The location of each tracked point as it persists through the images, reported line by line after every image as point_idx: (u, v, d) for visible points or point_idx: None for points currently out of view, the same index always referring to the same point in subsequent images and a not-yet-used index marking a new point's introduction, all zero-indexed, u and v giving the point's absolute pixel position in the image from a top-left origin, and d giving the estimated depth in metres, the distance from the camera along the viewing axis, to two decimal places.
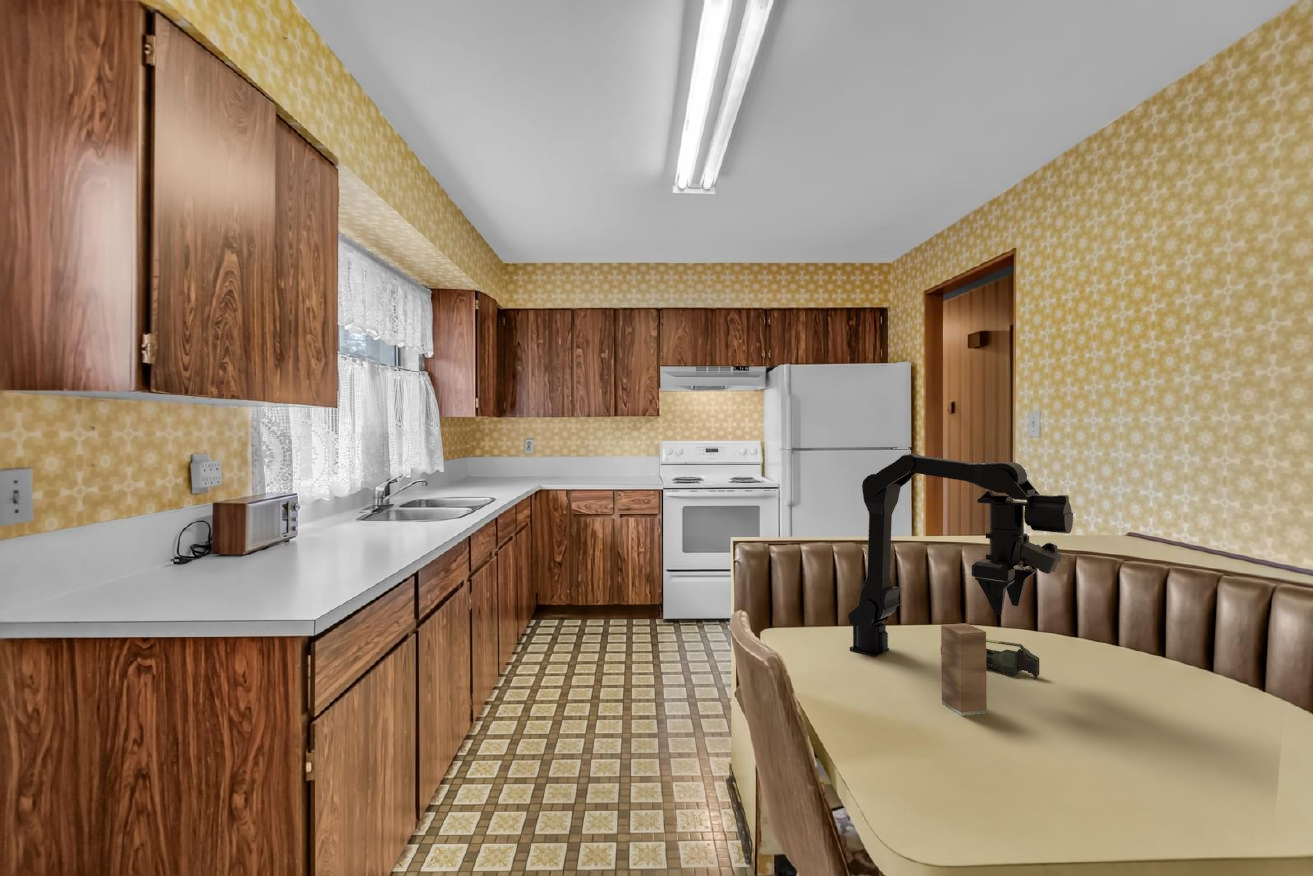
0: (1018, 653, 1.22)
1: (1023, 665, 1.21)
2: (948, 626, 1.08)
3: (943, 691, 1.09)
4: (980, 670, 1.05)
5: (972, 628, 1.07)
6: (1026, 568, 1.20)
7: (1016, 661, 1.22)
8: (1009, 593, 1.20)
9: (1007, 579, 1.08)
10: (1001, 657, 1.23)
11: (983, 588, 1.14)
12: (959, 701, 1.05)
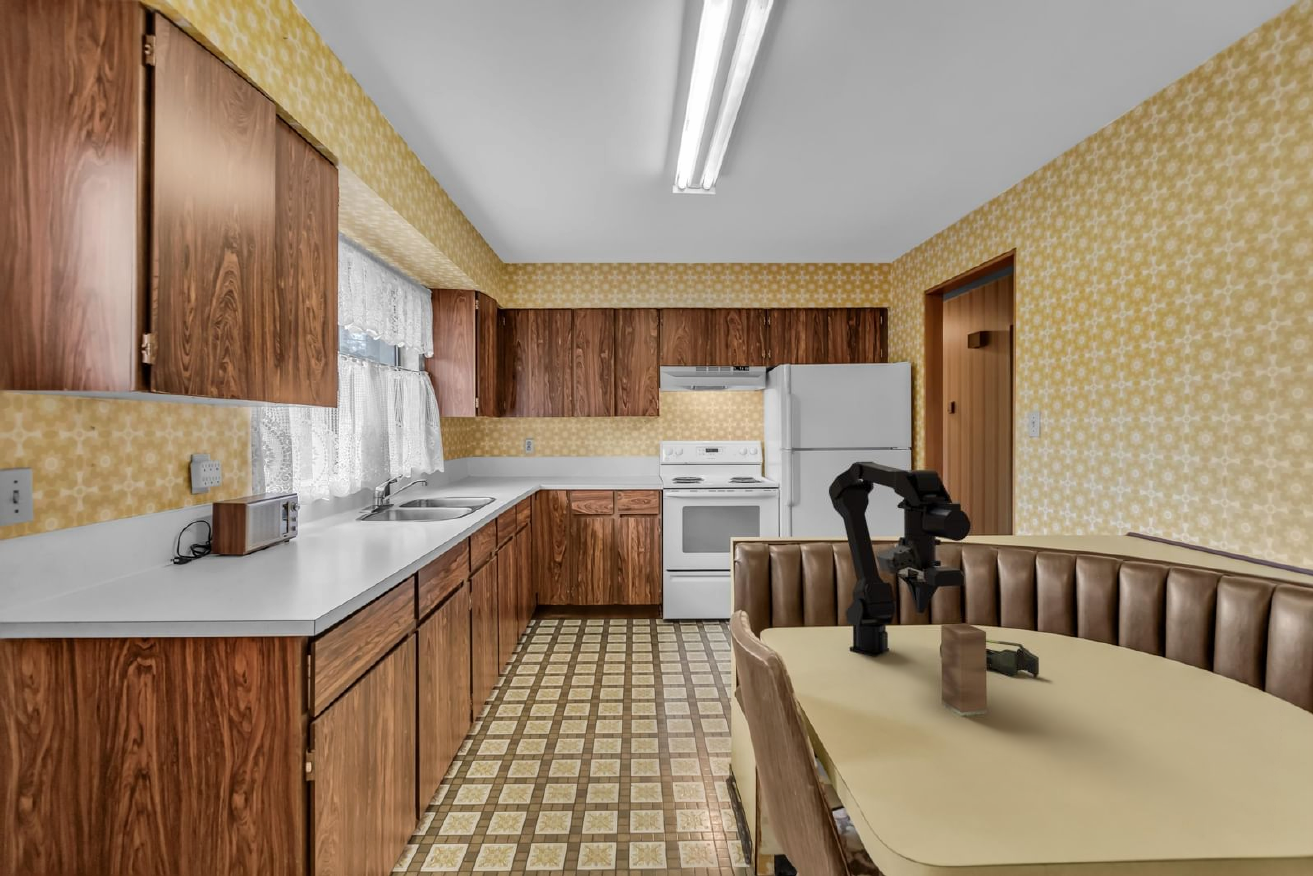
0: (1018, 653, 1.22)
1: (1023, 665, 1.22)
2: (948, 626, 1.08)
3: (943, 691, 1.09)
4: (980, 670, 1.05)
5: (972, 628, 1.07)
6: (919, 578, 1.19)
7: (1016, 661, 1.22)
8: None
9: None
10: (1001, 656, 1.23)
11: None
12: (959, 701, 1.05)
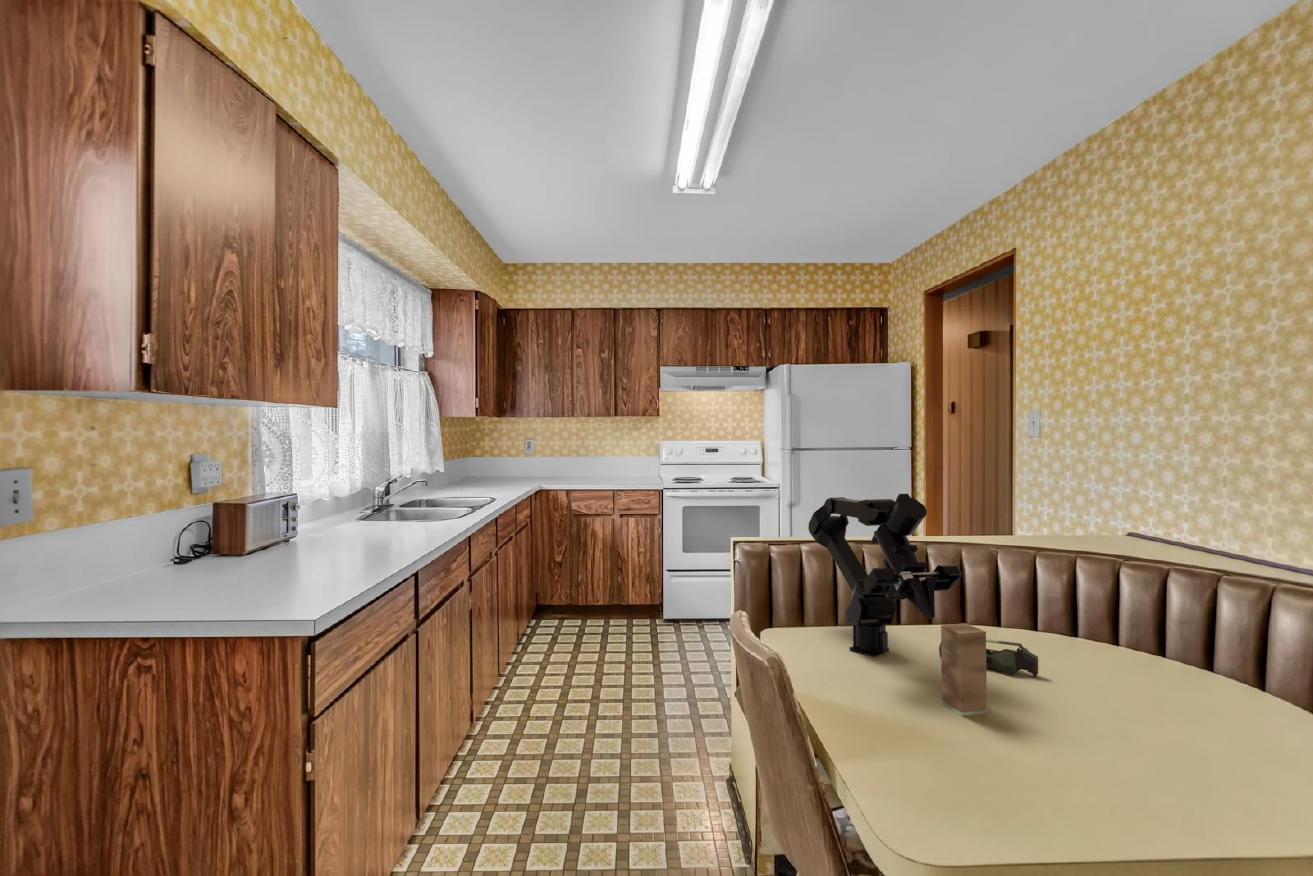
0: (1017, 652, 1.22)
1: (1022, 664, 1.22)
2: (948, 626, 1.08)
3: (943, 691, 1.09)
4: (980, 670, 1.05)
5: (972, 628, 1.07)
6: None
7: (1016, 660, 1.22)
8: None
9: None
10: (1001, 656, 1.23)
11: None
12: (959, 701, 1.05)
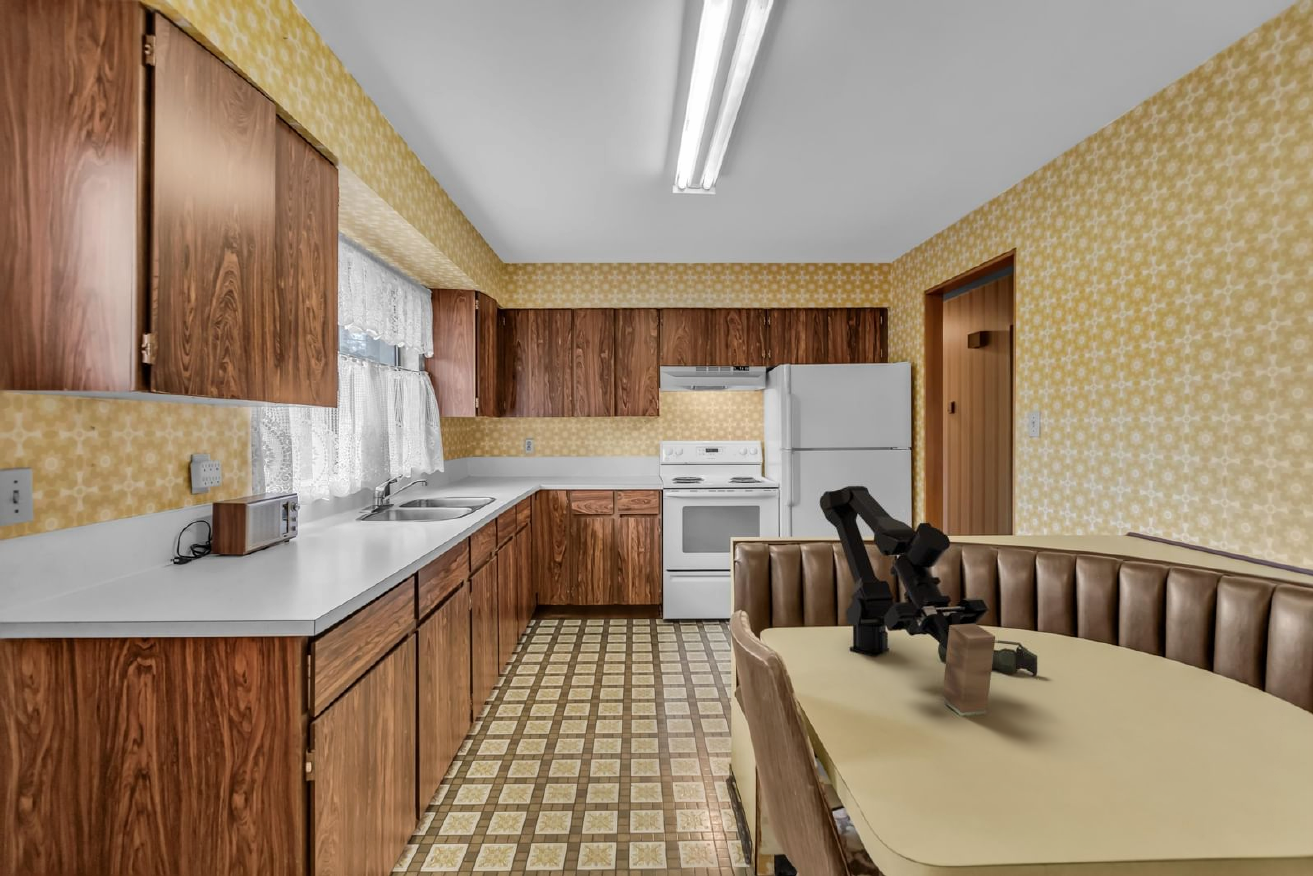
0: (1017, 652, 1.23)
1: (1022, 663, 1.22)
2: (956, 627, 1.06)
3: (945, 688, 1.08)
4: (985, 673, 1.04)
5: (981, 631, 1.05)
6: None
7: (1015, 660, 1.23)
8: None
9: (971, 623, 1.18)
10: (1000, 656, 1.24)
11: None
12: (960, 701, 1.04)
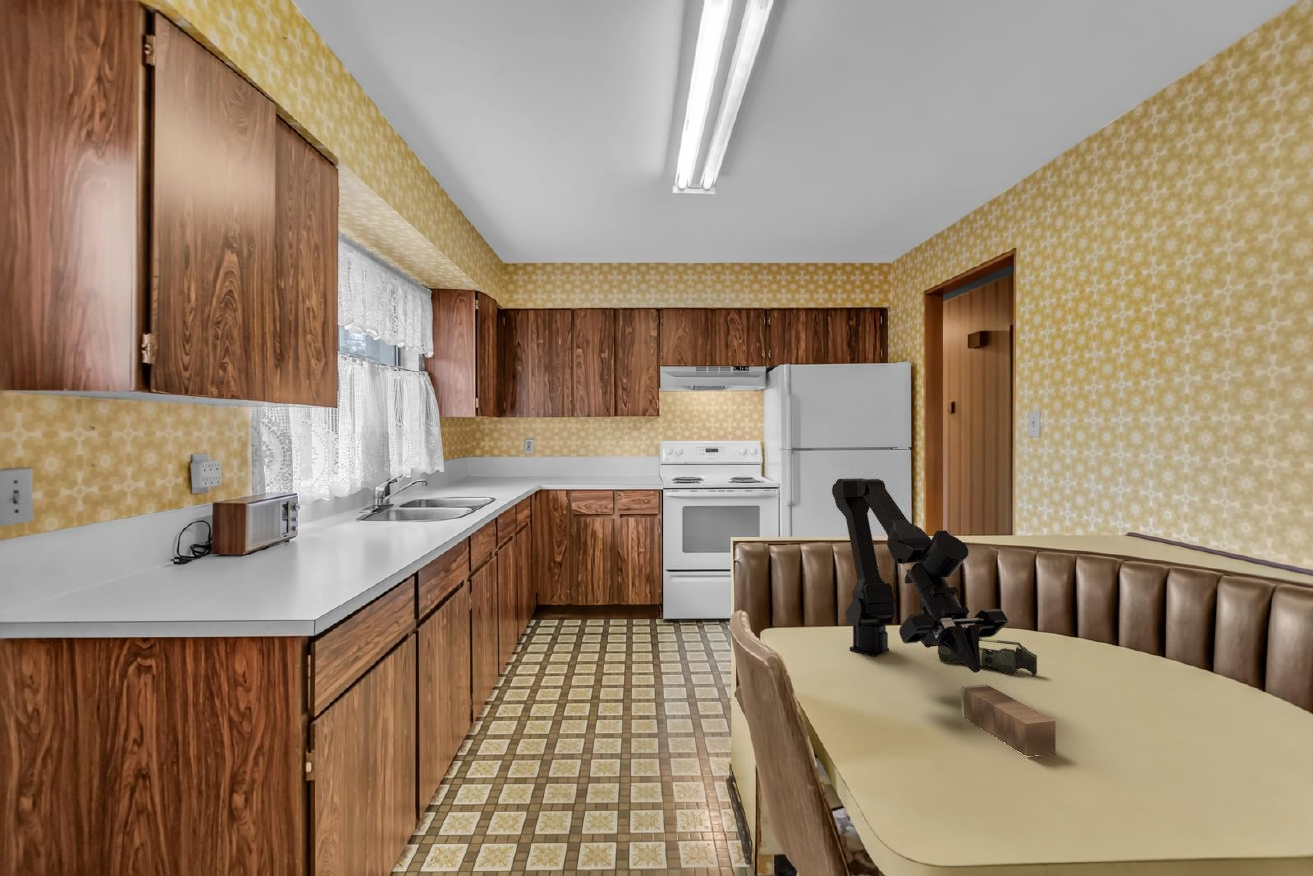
0: (1017, 651, 1.23)
1: (1022, 663, 1.22)
2: (1030, 730, 0.90)
3: (971, 695, 1.02)
4: None
5: (1049, 741, 0.91)
6: None
7: (1015, 659, 1.23)
8: None
9: None
10: (1000, 656, 1.24)
11: None
12: (971, 720, 1.02)
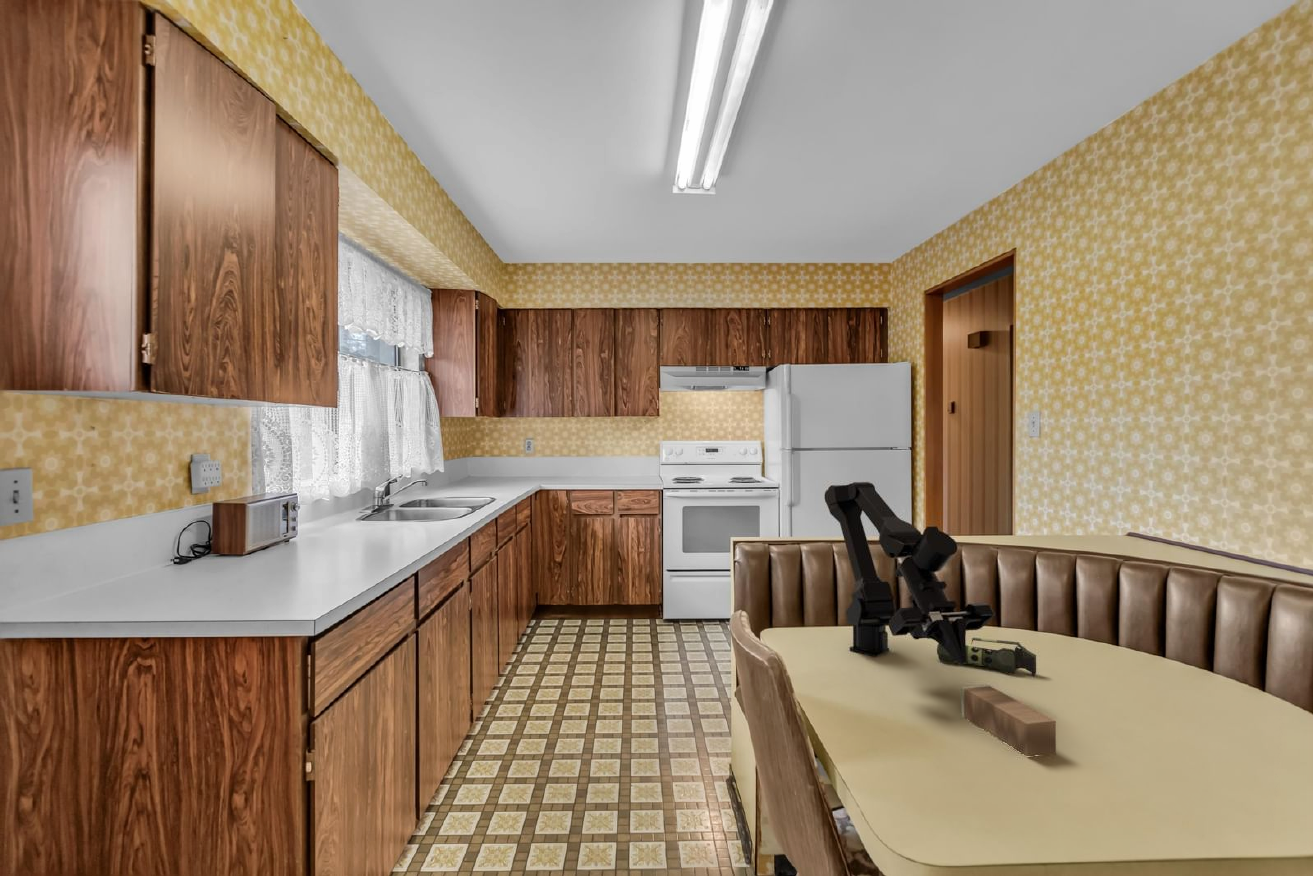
0: (1016, 651, 1.23)
1: (1021, 663, 1.23)
2: (1030, 730, 0.90)
3: (971, 695, 1.02)
4: None
5: (1050, 741, 0.91)
6: None
7: (1015, 659, 1.23)
8: None
9: None
10: (1000, 655, 1.24)
11: None
12: (971, 720, 1.02)
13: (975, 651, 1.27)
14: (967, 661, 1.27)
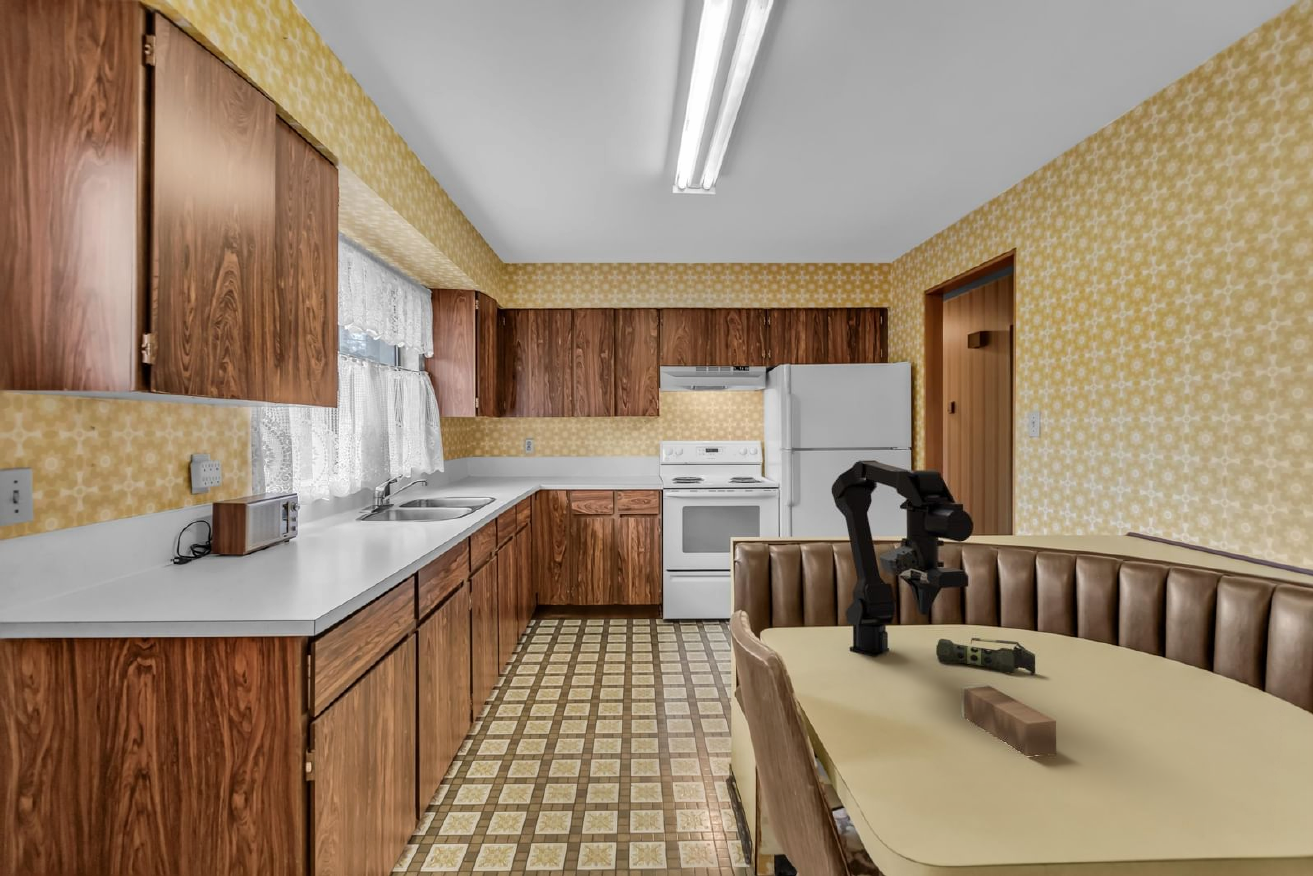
0: (1016, 651, 1.23)
1: (1021, 662, 1.23)
2: (1031, 730, 0.90)
3: (971, 695, 1.02)
4: None
5: (1050, 741, 0.91)
6: (922, 579, 1.17)
7: (1014, 659, 1.23)
8: None
9: None
10: (1000, 655, 1.24)
11: None
12: (971, 720, 1.02)
13: (974, 651, 1.27)
14: (966, 661, 1.27)
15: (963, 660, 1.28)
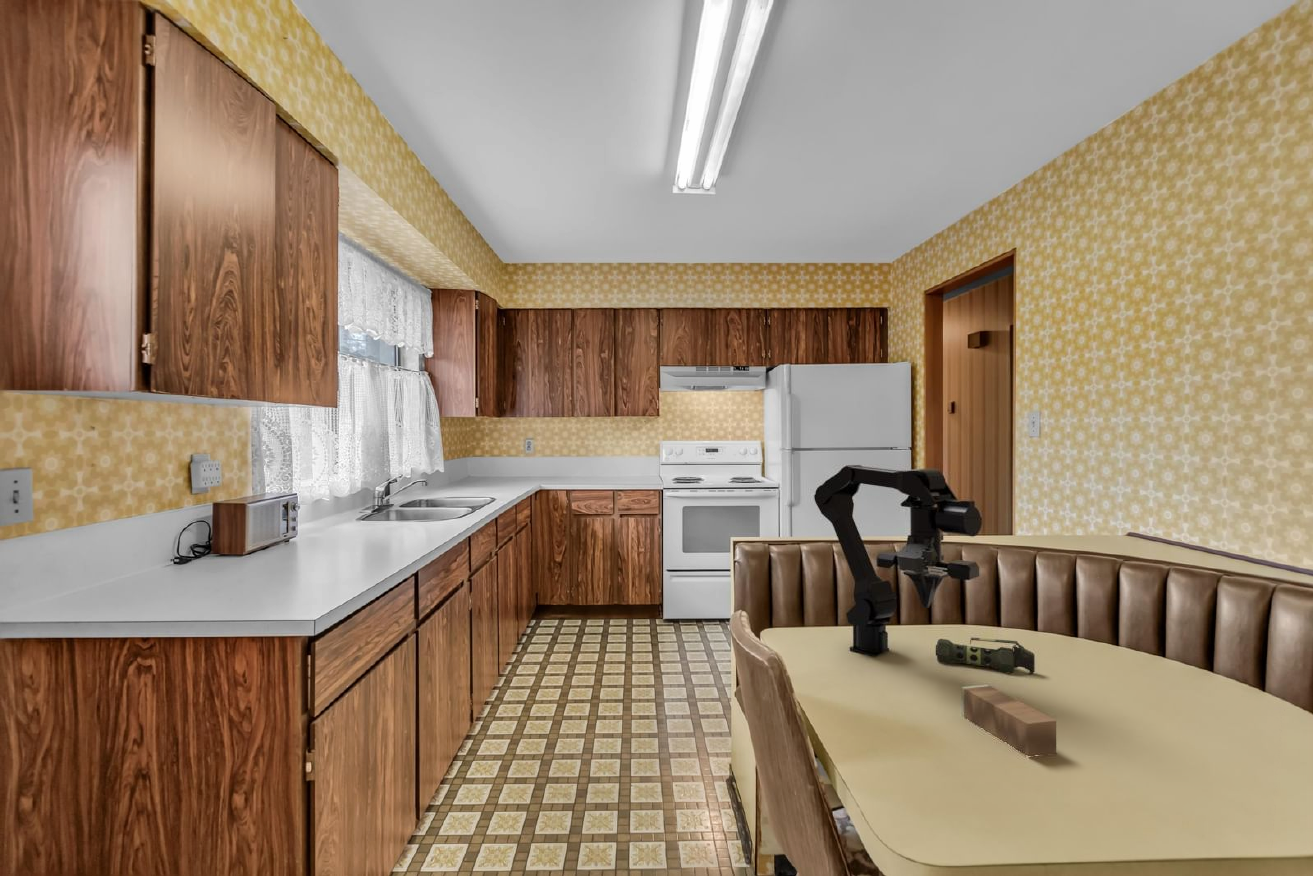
0: (1015, 650, 1.24)
1: (1020, 662, 1.23)
2: (1031, 730, 0.90)
3: (971, 695, 1.02)
4: None
5: (1050, 741, 0.91)
6: (931, 573, 1.22)
7: (1014, 658, 1.23)
8: None
9: (877, 565, 1.29)
10: (999, 655, 1.24)
11: None
12: (971, 720, 1.02)
13: (974, 651, 1.27)
14: (966, 661, 1.27)
15: (963, 660, 1.27)
